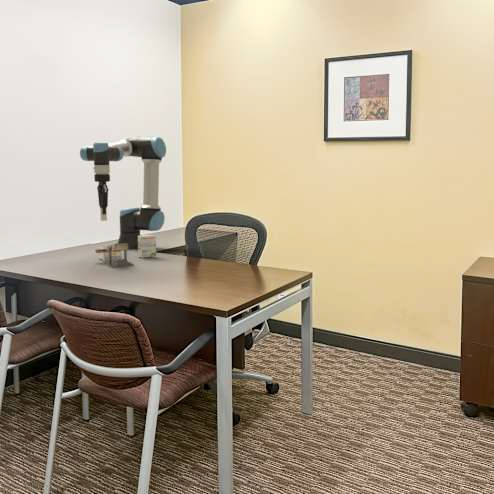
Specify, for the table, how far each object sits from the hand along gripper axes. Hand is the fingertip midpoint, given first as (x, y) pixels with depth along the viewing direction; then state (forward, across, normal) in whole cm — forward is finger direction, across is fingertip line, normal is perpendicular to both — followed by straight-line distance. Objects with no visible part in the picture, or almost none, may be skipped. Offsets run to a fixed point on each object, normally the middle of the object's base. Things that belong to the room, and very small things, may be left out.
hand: (103, 220), depth 285 cm
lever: (+14, +10, +1) cm, 18 cm away
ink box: (+22, -2, +23) cm, 31 cm away
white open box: (+21, -4, +4) cm, 22 cm away
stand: (+21, +10, +4) cm, 23 cm away
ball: (+21, -2, +4) cm, 21 cm away
